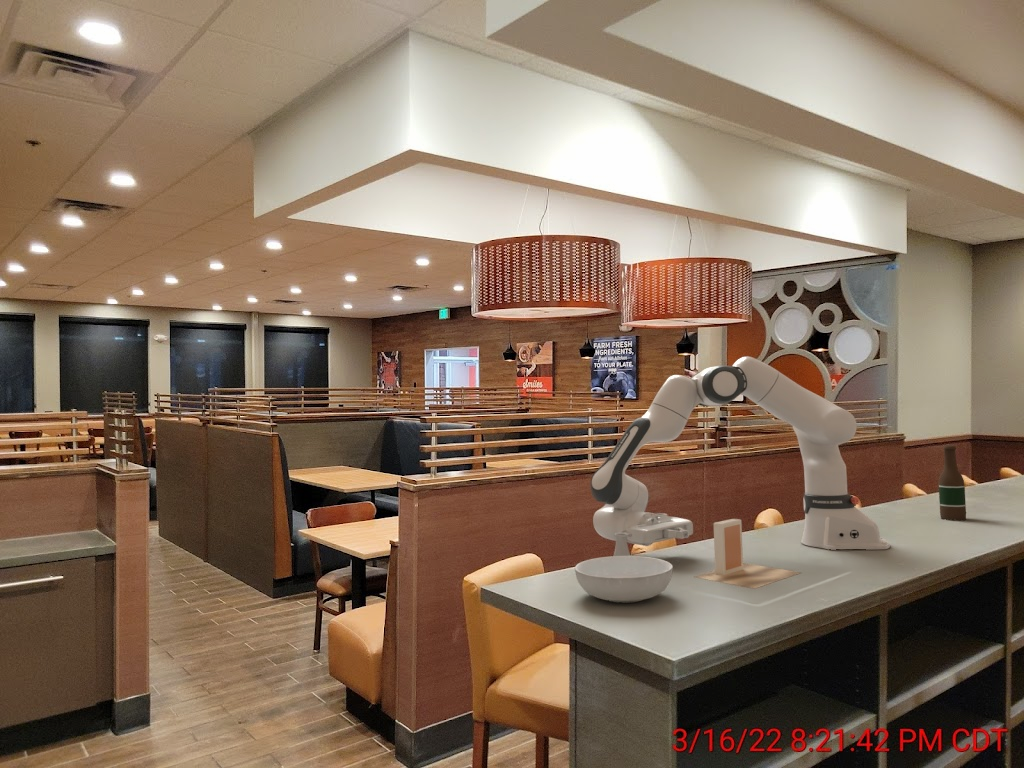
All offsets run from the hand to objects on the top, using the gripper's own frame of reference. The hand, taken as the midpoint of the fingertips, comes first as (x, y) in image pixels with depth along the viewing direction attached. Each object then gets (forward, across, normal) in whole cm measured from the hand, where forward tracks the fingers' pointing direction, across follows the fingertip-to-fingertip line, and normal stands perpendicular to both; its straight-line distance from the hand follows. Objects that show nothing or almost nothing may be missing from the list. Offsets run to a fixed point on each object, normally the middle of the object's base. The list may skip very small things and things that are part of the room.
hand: (685, 534), depth 187 cm
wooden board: (+17, 0, +8) cm, 19 cm away
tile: (+12, 0, +7) cm, 14 cm away
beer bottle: (+22, +113, +7) cm, 115 cm away
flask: (-6, -18, +8) cm, 21 cm away
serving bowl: (+8, -33, +8) cm, 35 cm away
